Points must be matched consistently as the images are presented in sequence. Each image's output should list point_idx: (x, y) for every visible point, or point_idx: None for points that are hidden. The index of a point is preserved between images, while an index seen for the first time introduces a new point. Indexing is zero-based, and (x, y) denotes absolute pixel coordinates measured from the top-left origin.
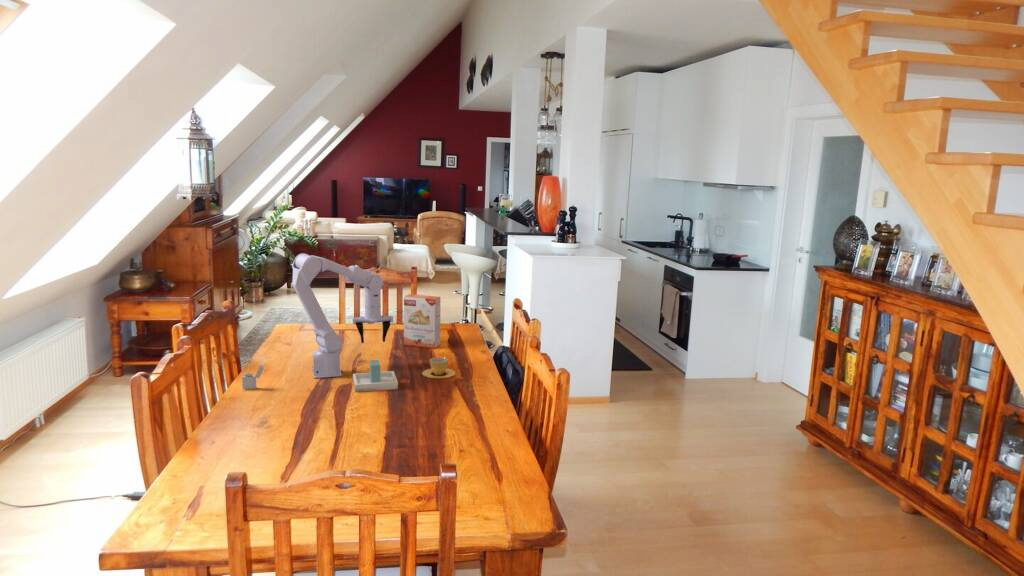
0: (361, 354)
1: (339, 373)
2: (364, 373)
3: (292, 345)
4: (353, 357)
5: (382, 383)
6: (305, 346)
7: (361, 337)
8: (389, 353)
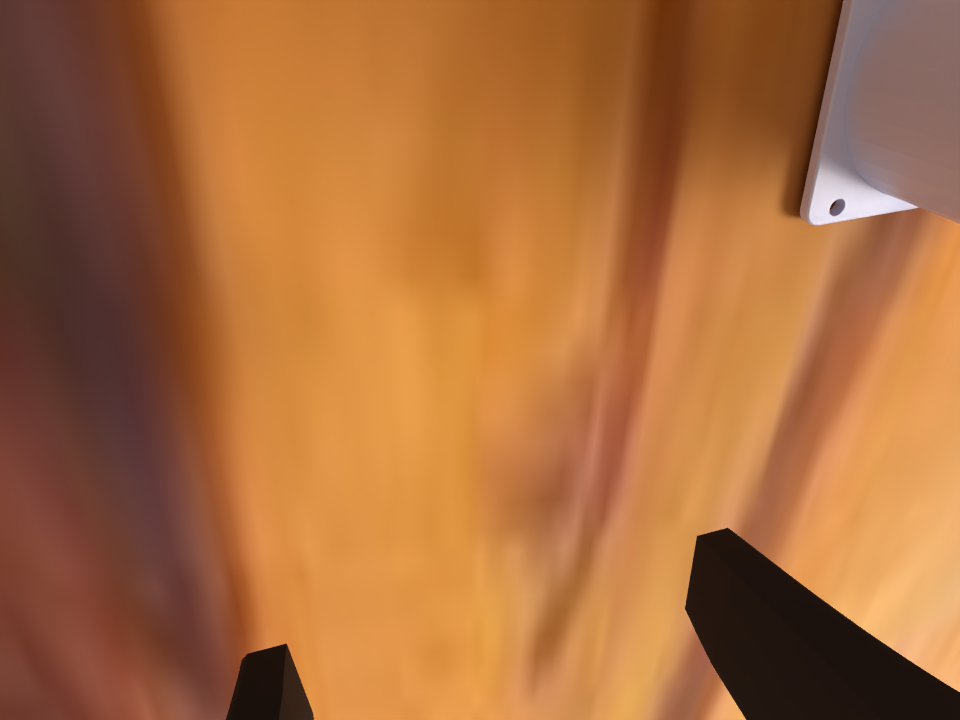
0: (529, 654)
1: (874, 6)
2: None
3: None
4: (603, 583)
5: None
6: None
7: (834, 614)
8: None
